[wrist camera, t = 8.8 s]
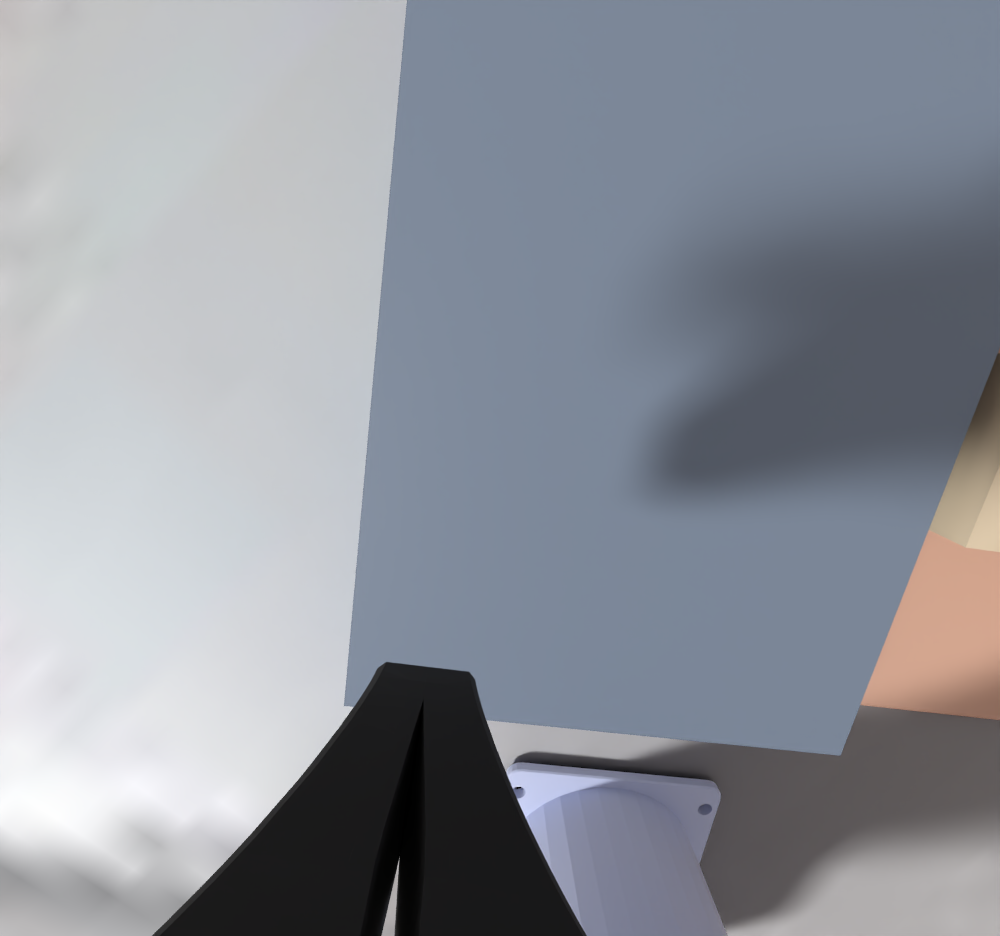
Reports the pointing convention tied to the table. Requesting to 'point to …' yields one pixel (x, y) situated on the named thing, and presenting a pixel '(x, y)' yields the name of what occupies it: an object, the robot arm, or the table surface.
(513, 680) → the textbook
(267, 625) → the table surface
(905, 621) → the mat
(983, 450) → the eraser
